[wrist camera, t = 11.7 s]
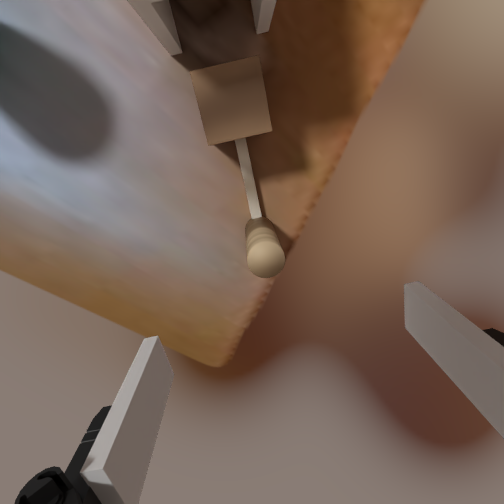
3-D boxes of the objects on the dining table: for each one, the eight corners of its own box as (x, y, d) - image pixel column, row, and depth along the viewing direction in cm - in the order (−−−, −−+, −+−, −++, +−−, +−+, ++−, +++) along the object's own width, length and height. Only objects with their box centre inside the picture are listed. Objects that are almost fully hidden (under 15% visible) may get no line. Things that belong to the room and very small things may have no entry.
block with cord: (199, 84, 30) (180, 58, 20) (255, 71, 30) (262, 38, 20) (239, 247, 36) (238, 284, 27) (285, 237, 36) (301, 270, 27)
